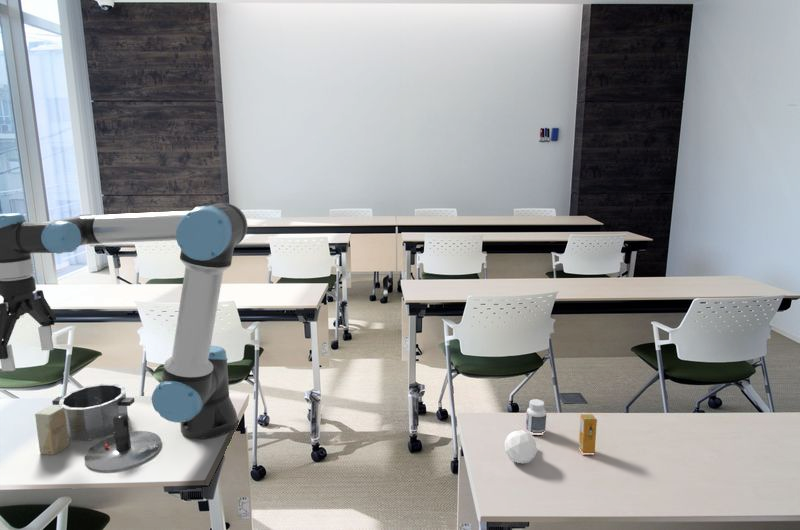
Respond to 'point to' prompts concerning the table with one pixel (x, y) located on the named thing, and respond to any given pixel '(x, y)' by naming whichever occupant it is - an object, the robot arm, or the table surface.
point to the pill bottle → (536, 416)
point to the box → (51, 429)
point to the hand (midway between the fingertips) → (29, 359)
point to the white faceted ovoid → (520, 446)
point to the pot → (93, 410)
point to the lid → (122, 447)
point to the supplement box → (587, 433)
